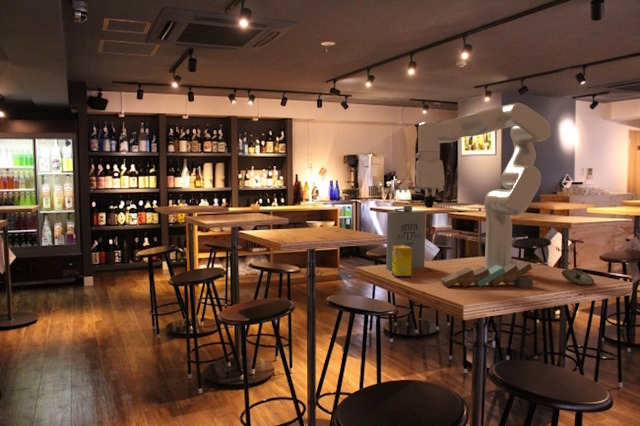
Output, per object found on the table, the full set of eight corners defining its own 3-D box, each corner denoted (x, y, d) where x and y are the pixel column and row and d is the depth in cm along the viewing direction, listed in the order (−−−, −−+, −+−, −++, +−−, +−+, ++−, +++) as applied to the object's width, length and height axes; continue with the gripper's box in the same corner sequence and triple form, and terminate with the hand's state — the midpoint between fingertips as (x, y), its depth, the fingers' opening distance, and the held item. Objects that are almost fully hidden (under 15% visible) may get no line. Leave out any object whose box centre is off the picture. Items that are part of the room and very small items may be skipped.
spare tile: (474, 283, 180) (499, 269, 181) (479, 287, 175) (505, 272, 176) (471, 278, 180) (496, 264, 180) (477, 281, 175) (503, 267, 176)
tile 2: (458, 284, 180) (484, 271, 180) (463, 287, 175) (490, 274, 175) (456, 278, 179) (482, 266, 180) (461, 282, 174) (488, 269, 175)
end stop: (519, 282, 184) (520, 273, 184) (532, 287, 175) (532, 278, 175) (508, 282, 184) (509, 273, 183) (521, 287, 175) (521, 278, 174)
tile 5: (501, 281, 181) (525, 265, 181) (508, 284, 176) (532, 268, 176) (498, 276, 181) (522, 260, 181) (505, 280, 176) (529, 263, 176)
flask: (391, 270, 203) (392, 206, 201) (384, 268, 207) (385, 205, 205) (427, 267, 211) (428, 205, 209) (420, 265, 215) (421, 204, 213)
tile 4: (488, 283, 181) (512, 267, 181) (494, 286, 176) (519, 270, 176) (485, 278, 181) (509, 262, 181) (491, 282, 176) (516, 265, 176)
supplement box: (391, 274, 195) (392, 245, 194) (407, 274, 196) (408, 245, 195) (395, 278, 189) (395, 247, 189) (411, 277, 190) (412, 247, 189)
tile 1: (442, 284, 179) (469, 272, 180) (447, 287, 174) (474, 275, 175) (440, 278, 179) (467, 267, 180) (445, 282, 174) (472, 270, 175)
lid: (577, 279, 190) (578, 265, 189) (601, 285, 181) (601, 270, 180) (554, 281, 186) (555, 267, 186) (577, 287, 177) (578, 272, 176)
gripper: (411, 156, 185) (412, 208, 187) (452, 156, 187) (452, 207, 189) (405, 157, 193) (406, 207, 195) (445, 156, 195) (445, 206, 196)
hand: (429, 207), depth 192 cm, fingers closed
